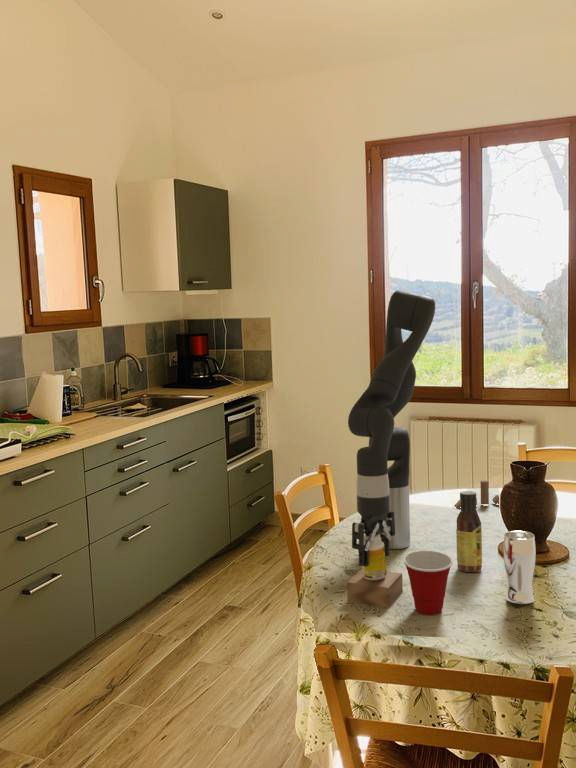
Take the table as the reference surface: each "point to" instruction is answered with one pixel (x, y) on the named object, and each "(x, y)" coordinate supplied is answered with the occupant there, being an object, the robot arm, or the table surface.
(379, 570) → the supplement bottle
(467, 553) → the sauce bottle
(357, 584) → the walnut block
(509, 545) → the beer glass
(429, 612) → the plastic cup
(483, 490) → the wood blocks
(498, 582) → the table surface
